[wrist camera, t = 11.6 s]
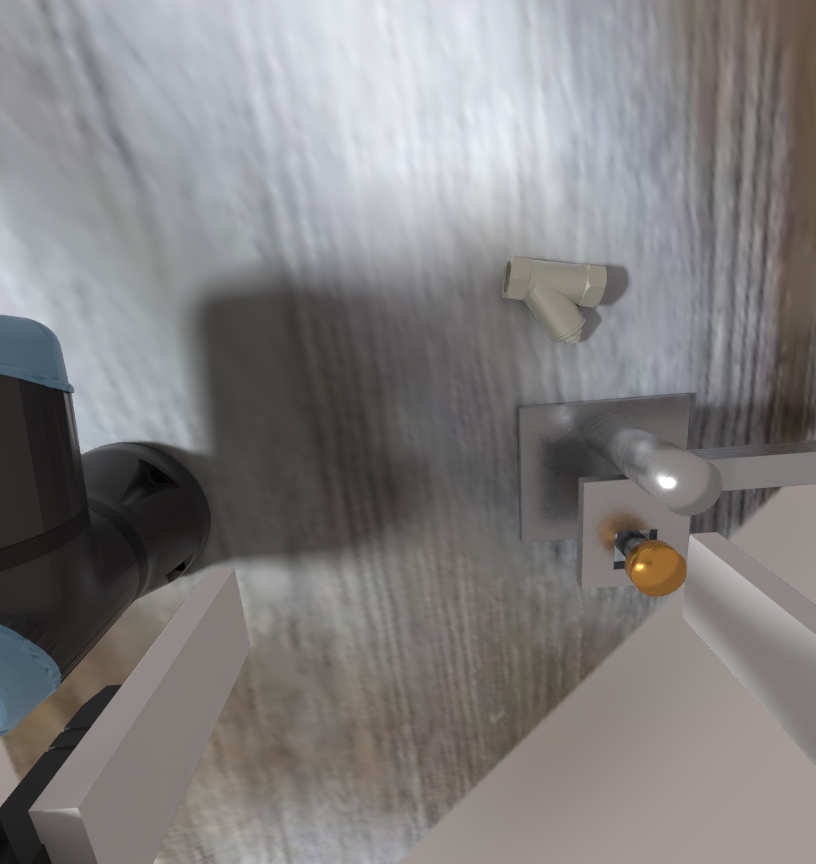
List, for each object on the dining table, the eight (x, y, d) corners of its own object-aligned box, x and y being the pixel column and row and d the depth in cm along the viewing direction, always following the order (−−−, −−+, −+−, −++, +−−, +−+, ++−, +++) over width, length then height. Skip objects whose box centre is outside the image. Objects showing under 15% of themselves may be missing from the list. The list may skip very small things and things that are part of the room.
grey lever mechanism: (520, 546, 48) (569, 649, 34) (517, 406, 44) (571, 454, 30) (741, 529, 48) (886, 626, 34) (758, 387, 44) (931, 427, 30)
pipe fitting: (577, 342, 44) (594, 266, 41) (592, 348, 40) (612, 266, 38) (493, 333, 43) (505, 256, 41) (501, 339, 40) (514, 255, 37)
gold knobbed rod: (582, 535, 47) (632, 598, 37) (583, 497, 46) (635, 551, 36) (624, 532, 47) (685, 594, 37) (626, 493, 46) (689, 547, 36)
